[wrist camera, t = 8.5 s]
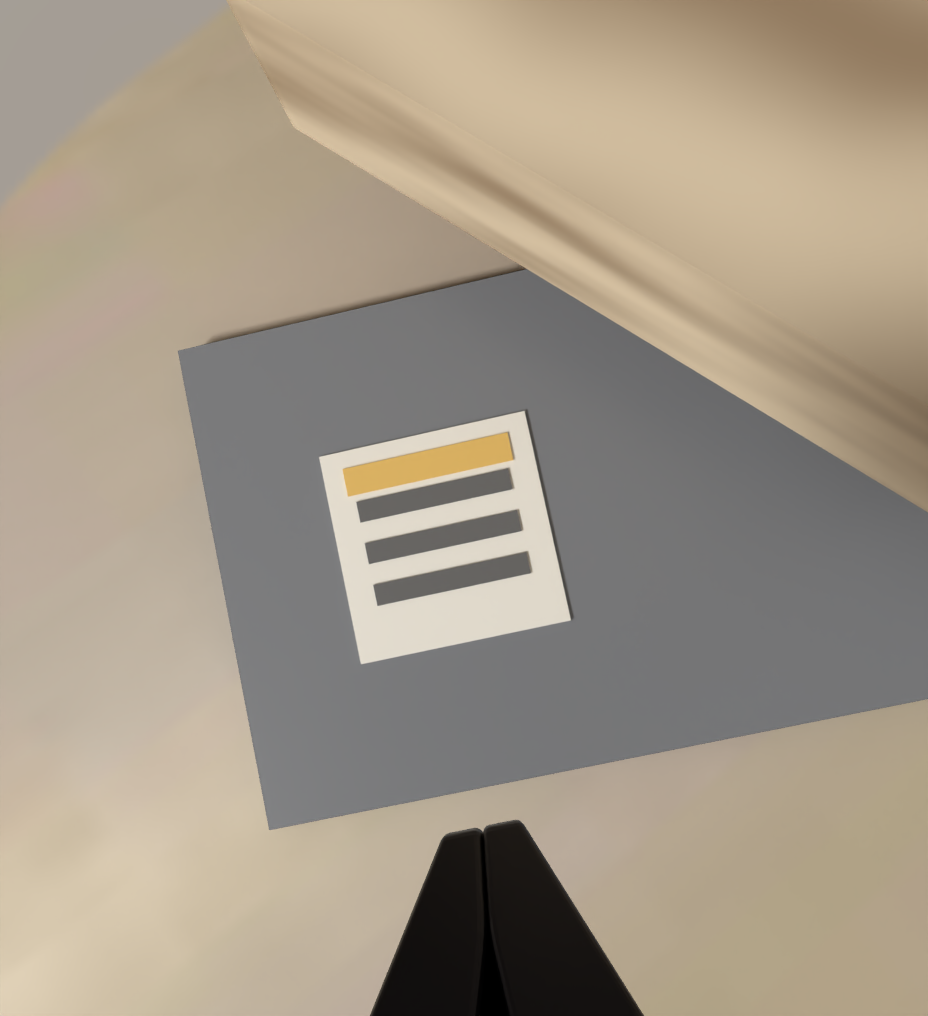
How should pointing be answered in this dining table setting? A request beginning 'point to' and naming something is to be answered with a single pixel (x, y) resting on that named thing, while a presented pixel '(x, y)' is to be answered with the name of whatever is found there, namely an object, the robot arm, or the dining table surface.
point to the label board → (528, 551)
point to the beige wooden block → (666, 176)
